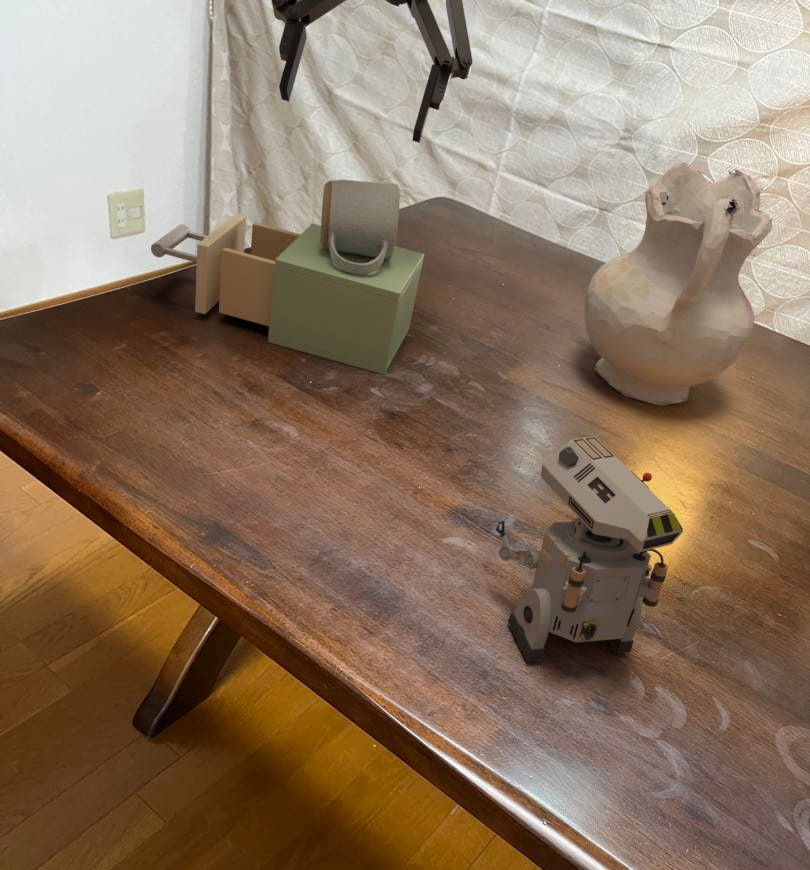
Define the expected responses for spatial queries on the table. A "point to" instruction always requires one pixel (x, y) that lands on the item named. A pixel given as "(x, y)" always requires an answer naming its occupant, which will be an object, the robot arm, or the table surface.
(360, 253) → the ceramic mug
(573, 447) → the figurine
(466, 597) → the table surface
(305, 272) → the cabinet
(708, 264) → the ceramic pitcher
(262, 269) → the drawer
